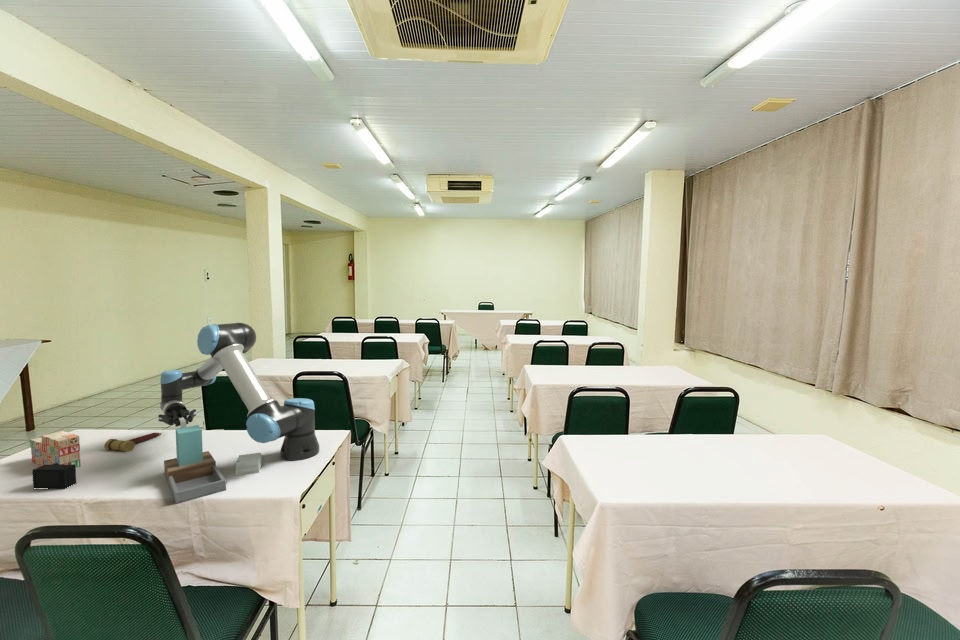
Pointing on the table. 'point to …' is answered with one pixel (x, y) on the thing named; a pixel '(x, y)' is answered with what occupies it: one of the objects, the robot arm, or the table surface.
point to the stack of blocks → (56, 449)
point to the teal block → (189, 445)
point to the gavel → (128, 442)
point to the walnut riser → (189, 469)
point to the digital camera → (54, 476)
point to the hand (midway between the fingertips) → (183, 425)
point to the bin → (197, 486)
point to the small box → (248, 464)
